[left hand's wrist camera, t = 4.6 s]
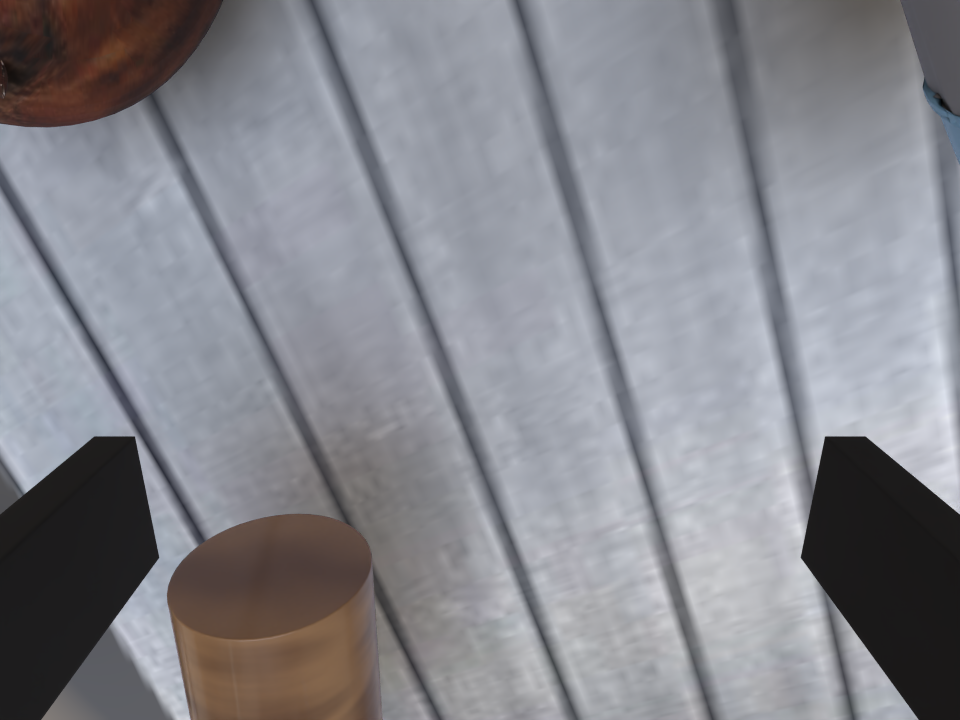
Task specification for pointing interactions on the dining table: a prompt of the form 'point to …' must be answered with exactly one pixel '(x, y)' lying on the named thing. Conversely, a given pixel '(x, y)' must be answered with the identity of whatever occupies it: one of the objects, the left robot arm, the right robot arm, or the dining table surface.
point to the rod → (278, 622)
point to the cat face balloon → (91, 55)
